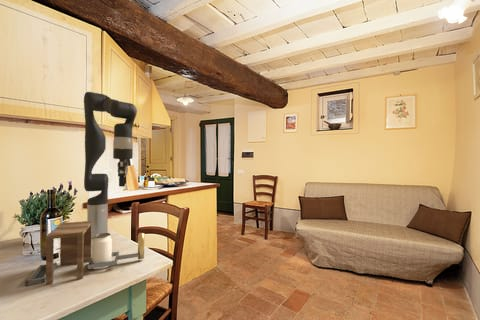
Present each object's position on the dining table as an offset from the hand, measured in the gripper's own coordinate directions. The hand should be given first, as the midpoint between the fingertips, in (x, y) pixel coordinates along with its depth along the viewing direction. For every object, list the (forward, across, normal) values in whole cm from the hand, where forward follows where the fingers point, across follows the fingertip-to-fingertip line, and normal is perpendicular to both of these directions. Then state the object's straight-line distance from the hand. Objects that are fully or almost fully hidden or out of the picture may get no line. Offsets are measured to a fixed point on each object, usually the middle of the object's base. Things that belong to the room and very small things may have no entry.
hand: (122, 185), depth 99 cm
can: (+30, +10, -6) cm, 32 cm away
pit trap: (+30, +10, -24) cm, 40 cm away
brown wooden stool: (+30, +10, -16) cm, 36 cm away
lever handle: (+29, +10, -1) cm, 31 cm away
